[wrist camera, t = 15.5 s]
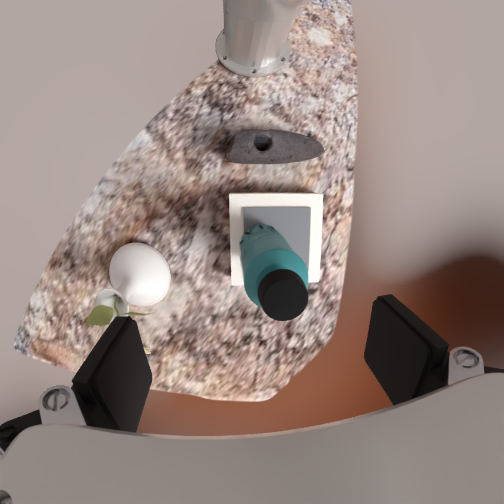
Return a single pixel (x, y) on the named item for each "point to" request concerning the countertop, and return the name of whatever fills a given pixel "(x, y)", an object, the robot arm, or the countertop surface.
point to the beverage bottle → (273, 273)
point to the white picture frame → (278, 225)
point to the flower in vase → (132, 284)
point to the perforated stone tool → (272, 147)
